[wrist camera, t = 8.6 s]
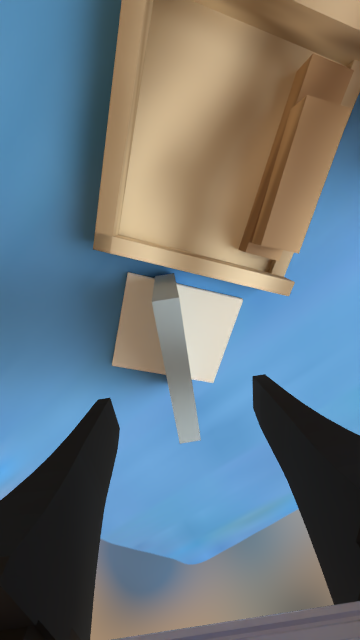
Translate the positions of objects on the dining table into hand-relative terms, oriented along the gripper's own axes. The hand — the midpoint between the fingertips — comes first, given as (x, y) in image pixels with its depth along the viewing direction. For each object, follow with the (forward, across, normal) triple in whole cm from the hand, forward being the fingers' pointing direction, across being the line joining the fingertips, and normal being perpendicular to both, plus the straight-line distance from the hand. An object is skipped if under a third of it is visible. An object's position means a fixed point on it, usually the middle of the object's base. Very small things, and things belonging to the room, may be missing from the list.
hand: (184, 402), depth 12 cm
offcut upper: (+6, -8, -9) cm, 14 cm away
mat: (+8, 0, 0) cm, 9 cm away
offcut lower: (+8, -8, -10) cm, 15 cm away
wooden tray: (+8, -4, -12) cm, 15 cm away
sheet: (+8, 0, 0) cm, 8 cm away
